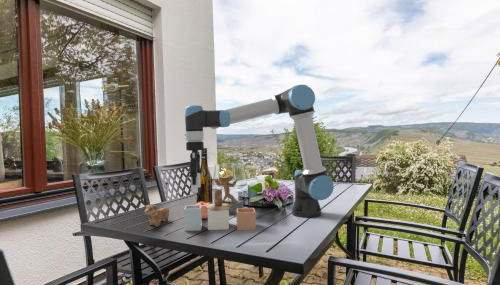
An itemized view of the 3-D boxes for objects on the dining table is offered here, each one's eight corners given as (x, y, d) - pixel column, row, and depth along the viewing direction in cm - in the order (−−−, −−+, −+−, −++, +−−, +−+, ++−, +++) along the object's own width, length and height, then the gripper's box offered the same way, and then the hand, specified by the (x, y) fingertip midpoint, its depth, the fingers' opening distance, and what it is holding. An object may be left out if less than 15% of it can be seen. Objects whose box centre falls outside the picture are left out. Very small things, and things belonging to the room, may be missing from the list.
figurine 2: (243, 211, 165) (242, 165, 165) (240, 216, 154) (240, 167, 154) (218, 210, 166) (217, 165, 166) (213, 215, 156) (213, 167, 155)
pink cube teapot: (213, 220, 147) (213, 203, 146) (189, 220, 148) (189, 203, 148) (216, 216, 154) (216, 200, 154) (194, 216, 156) (193, 200, 156)
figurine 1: (139, 227, 136) (139, 205, 136) (162, 218, 151) (162, 199, 151) (151, 229, 134) (151, 206, 134) (173, 220, 149) (173, 199, 148)
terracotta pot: (254, 225, 137) (253, 207, 137) (255, 230, 129) (255, 212, 129) (236, 226, 137) (236, 208, 136) (237, 231, 129) (237, 212, 128)
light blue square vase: (202, 227, 136) (201, 205, 136) (200, 231, 129) (200, 208, 129) (186, 227, 135) (185, 205, 135) (184, 232, 128) (183, 209, 128)
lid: (229, 204, 139) (229, 187, 139) (230, 210, 129) (230, 191, 129) (207, 205, 138) (206, 188, 138) (205, 211, 128) (205, 192, 128)
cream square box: (228, 224, 139) (228, 205, 139) (229, 230, 130) (228, 209, 130) (209, 225, 138) (208, 206, 138) (207, 231, 129) (207, 210, 129)
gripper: (189, 141, 144) (190, 185, 144) (182, 141, 119) (183, 195, 119) (205, 140, 144) (206, 184, 145) (201, 141, 120) (202, 194, 120)
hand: (196, 189), depth 132 cm, fingers open, 13 cm apart
